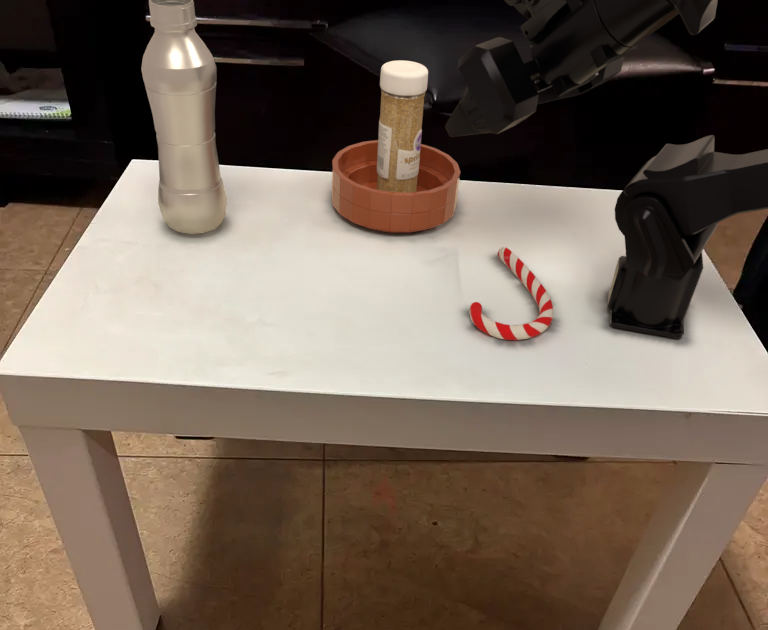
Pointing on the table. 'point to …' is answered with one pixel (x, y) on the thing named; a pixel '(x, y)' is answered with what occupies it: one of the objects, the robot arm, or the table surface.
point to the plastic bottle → (184, 119)
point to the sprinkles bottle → (400, 125)
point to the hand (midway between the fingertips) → (478, 117)
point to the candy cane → (536, 291)
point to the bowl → (394, 209)
